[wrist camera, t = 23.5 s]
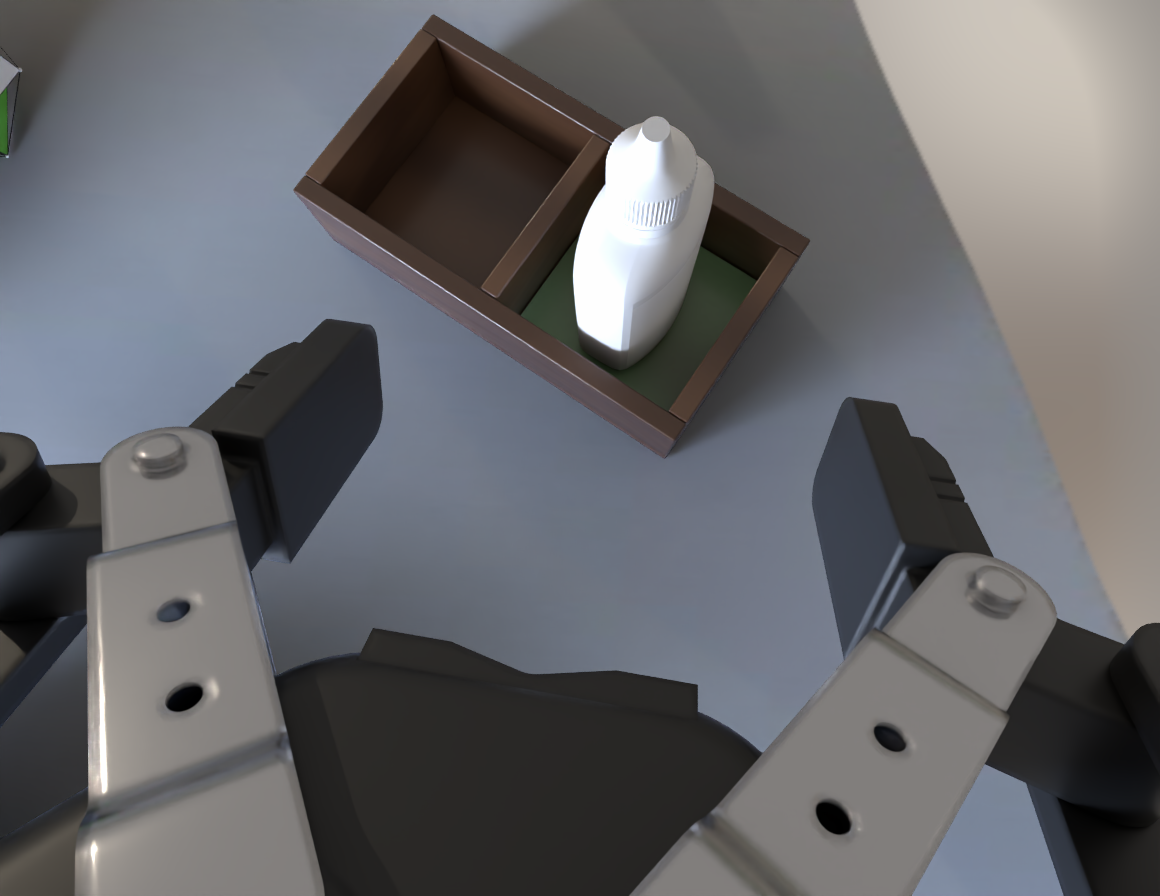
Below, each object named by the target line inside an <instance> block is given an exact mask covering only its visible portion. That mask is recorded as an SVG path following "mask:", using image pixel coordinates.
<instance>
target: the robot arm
mask: <svg viewBox="0 0 1160 896" xmlns="http://www.w3.org/2000/svg"><path fill="white" fill-rule="evenodd" d="M382 411H383V400H382V389H381V378H380V367H379V355H378V344H377V336H376V332H375V330H374V328H373V327H372V326H371V325H368V324H361V323H354V322H347V321H341V320H334V319H326V320H324V321H323V322H322V323H321V324H320V325H319V326H318V327H317V328H316V329H315V330H314V331H313V332H311V333H310V334H309V335H308V336H307V337H306V338H305V339H304V340H303V341H302V342H301V343H297V342H293V343H290V344H288V345H286V346H284V347H282V348H279V349H277V350H275V351H273V352H271V353H269V354H267V355H266V356H264V357H263V358H262V359H261V360H260V361H259V362H258V363H257V364H256V365H255V366H254V367H253V368H251V369H250V373H249V374H247V373H246V374H245V375H244V376H243V377H242V378H241V379H240V380H238V381H237V382H236V383H235V387H231V388H230V389H229V390H228V391H227V392H225V393H224V394H223V395H222V396H221V397H220V398H219V399H218V400H217V401H216V402H215V403H213V404H212V405H211V406H210V407H209V408H208V409H207V410H206V411H205V412H204V413H203V414H202V415H200V416H199V417H198V418H197V419H196V420H195V421H194V422H193V423H192V424H191V425H190V426H189V427H165V428H158V429H153V430H149V431H145V432H142V433H139V434H136V435H134V436H131V437H129V438H127V439H125V440H123V441H121V442H120V443H118V444H117V445H115V446H114V447H113V448H112V449H110V450H109V451H108V452H107V453H106V455H105V456H104V457H103V459H102V461H101V463H81V464H61V465H45V464H44V462H43V460H42V458H41V455H40V453H39V451H38V449H37V446H36V444H35V443H34V442H33V441H32V440H31V439H29V438H28V437H26V436H23V435H20V434H15V433H5V432H0V728H1V726H2V725H3V724H4V723H5V722H6V720H7V719H8V718H9V717H10V716H11V714H12V713H13V712H14V711H15V709H16V708H17V707H18V706H19V705H20V703H21V702H22V701H23V700H24V699H25V697H26V696H27V695H28V694H29V693H30V691H31V690H32V689H33V688H34V687H35V685H36V684H37V683H38V682H39V681H40V679H41V678H42V677H43V676H44V675H45V673H46V672H47V671H48V670H49V669H50V667H51V666H52V665H53V664H54V663H55V661H56V660H57V659H58V658H59V657H60V655H61V654H62V653H63V652H64V651H65V649H66V648H67V647H68V646H69V645H70V643H71V642H72V641H73V640H74V639H75V637H76V636H77V635H78V634H79V633H80V631H81V630H82V629H83V628H84V627H85V625H86V624H87V679H88V787H87V788H85V789H84V790H82V791H80V792H79V793H77V794H75V795H74V796H72V797H70V798H69V799H67V800H65V801H64V802H62V803H60V804H58V805H57V806H55V807H53V808H52V809H50V810H48V811H47V812H45V813H43V814H42V815H40V816H38V817H37V818H35V819H33V820H32V821H30V822H28V823H27V824H25V825H23V826H22V827H20V828H18V829H17V830H15V831H13V832H12V833H10V834H8V835H7V836H5V837H3V838H1V839H0V896H912V894H913V892H914V890H915V888H916V887H917V885H918V883H919V881H920V879H921V878H922V876H923V874H924V872H925V870H926V869H927V867H928V865H929V863H930V861H931V860H932V858H933V856H934V854H935V852H936V851H937V849H938V847H939V845H940V843H941V842H942V840H943V838H944V836H945V834H946V833H947V831H948V829H949V827H950V825H951V824H952V822H953V820H954V818H955V816H956V814H957V813H958V811H959V809H960V807H961V805H962V804H963V802H964V800H965V798H966V796H967V795H968V793H969V791H970V789H971V787H972V786H973V784H974V782H975V780H976V778H977V777H978V775H979V773H980V771H981V769H982V768H983V766H984V764H986V765H988V766H990V767H992V768H995V769H997V770H999V771H1001V772H1003V773H1006V774H1008V775H1010V776H1012V777H1014V778H1016V779H1019V780H1021V781H1023V782H1025V783H1026V784H1027V787H1028V790H1029V793H1030V796H1031V799H1032V802H1033V805H1034V808H1035V811H1036V814H1037V817H1038V820H1039V823H1040V826H1041V829H1042V832H1043V835H1044V838H1045V841H1046V844H1047V847H1048V850H1049V853H1050V856H1051V859H1052V862H1053V865H1054V868H1055V871H1056V874H1057V877H1058V880H1059V883H1060V886H1061V889H1062V891H1063V894H1064V896H1160V623H1151V624H1146V625H1144V626H1142V627H1140V628H1139V629H1138V630H1137V631H1136V632H1135V633H1134V634H1133V635H1132V636H1131V638H1130V639H1129V640H1128V641H1127V642H1126V644H1125V645H1124V644H1122V643H1119V642H1117V641H1114V640H1111V639H1109V638H1106V637H1103V636H1101V635H1098V634H1096V633H1093V632H1090V631H1088V630H1085V629H1082V628H1080V627H1077V626H1075V625H1072V624H1069V623H1067V622H1065V621H1062V620H1060V619H1058V618H1057V613H1056V609H1055V606H1054V604H1053V602H1052V600H1051V598H1050V597H1049V596H1048V594H1047V593H1046V591H1045V590H1044V589H1043V588H1042V587H1041V586H1040V585H1039V584H1038V583H1037V582H1036V581H1034V580H1033V579H1032V578H1031V577H1029V576H1028V575H1027V574H1025V573H1024V572H1022V571H1021V570H1019V569H1017V568H1016V567H1014V566H1012V565H1010V564H1008V563H1006V562H1004V561H1001V560H999V559H996V558H994V557H993V554H992V552H991V550H990V548H989V546H988V544H987V542H986V540H985V538H984V536H983V534H982V532H981V530H980V528H979V526H978V524H977V522H976V520H975V518H974V516H973V514H972V512H971V510H970V508H969V506H968V504H967V503H965V502H964V499H965V498H964V495H963V493H962V491H961V489H960V487H959V485H956V484H955V482H956V479H955V477H954V475H953V473H952V471H951V469H950V467H949V465H948V463H947V461H946V459H945V458H944V457H943V456H942V455H941V454H940V453H939V452H938V451H937V450H935V449H934V448H933V447H932V446H931V445H930V444H929V443H928V442H927V441H926V440H925V439H924V438H919V437H912V436H910V433H909V431H908V429H907V427H906V424H905V422H904V420H903V418H902V415H901V413H900V411H899V409H898V407H897V405H895V404H893V403H886V402H879V401H872V400H866V399H859V398H852V397H848V398H846V399H845V400H844V402H843V403H842V405H841V407H840V409H839V412H838V415H837V417H836V420H835V423H834V426H833V428H832V431H831V434H830V436H829V439H828V442H827V445H826V447H825V450H824V453H823V455H822V458H821V461H820V464H819V466H818V469H817V472H816V475H815V479H814V485H813V492H812V506H813V511H814V516H815V521H816V526H817V531H818V536H819V540H820V545H821V550H822V555H823V560H824V565H825V569H826V574H827V579H828V584H829V589H830V593H831V598H832V603H833V608H834V613H835V618H836V622H837V627H838V632H839V637H840V642H841V647H842V651H843V656H844V661H843V662H842V663H841V664H840V665H839V667H838V668H837V669H836V670H835V671H834V672H833V673H832V675H831V676H830V677H829V678H828V679H827V680H826V681H825V683H824V684H823V685H822V686H821V687H820V688H819V690H818V691H817V692H816V693H815V694H814V695H813V696H812V698H811V699H810V700H809V701H808V702H807V703H806V704H805V706H804V707H803V708H802V709H801V710H800V711H799V713H798V714H797V715H796V716H795V717H794V718H793V719H792V721H791V722H790V723H789V724H788V725H787V726H786V727H785V729H784V730H783V731H782V732H781V733H780V734H779V736H778V737H777V738H776V739H775V740H774V741H773V742H772V744H771V745H770V746H769V747H768V748H767V749H766V750H765V752H764V753H761V752H760V751H759V750H758V749H757V748H756V747H754V746H753V745H752V744H751V743H750V742H749V741H747V740H746V739H745V738H743V737H742V736H741V735H739V734H738V733H736V732H735V731H733V730H732V729H730V728H729V727H727V726H726V725H724V724H722V723H720V722H718V721H717V720H715V719H713V718H711V717H709V716H707V715H705V714H702V713H700V712H698V685H696V684H690V683H685V682H679V681H673V680H667V679H662V678H656V677H650V676H645V675H639V674H633V673H627V672H622V671H596V672H576V673H555V674H528V673H524V672H521V671H518V670H516V669H514V668H511V667H509V666H507V665H504V664H502V663H500V662H497V661H495V660H493V659H490V658H488V657H486V656H483V655H481V654H479V653H476V652H474V651H472V650H469V649H467V648H465V647H462V646H460V645H458V644H455V643H453V642H450V641H444V640H439V639H433V638H427V637H422V636H416V635H410V634H404V633H399V632H393V631H387V630H382V629H376V628H373V629H372V631H371V633H370V635H369V637H368V639H367V641H366V643H365V645H364V647H363V649H362V651H361V653H350V654H343V655H337V656H331V657H327V658H323V659H319V660H315V661H311V662H308V663H306V664H303V665H300V666H297V667H294V668H292V669H289V670H287V671H285V672H283V673H281V674H279V675H277V673H276V669H275V665H274V661H273V657H272V653H271V649H270V644H269V640H268V636H267V632H266V628H265V624H264V620H263V616H262V612H261V608H260V604H259V600H258V596H257V592H256V588H255V584H254V580H253V577H252V573H251V571H252V570H253V569H254V567H255V566H256V565H257V563H258V562H259V560H260V559H265V560H271V561H276V562H282V563H288V564H290V563H291V562H292V560H293V559H294V557H295V556H296V554H297V553H298V551H299V550H300V548H301V547H302V545H303V544H304V542H305V541H306V539H307V538H308V536H309V535H310V533H311V532H312V530H313V529H314V527H315V526H316V524H317V523H318V522H319V520H320V519H321V517H322V516H323V514H324V513H325V511H326V510H327V508H328V507H329V505H330V504H331V502H332V501H333V499H334V498H335V496H336V495H337V493H338V492H339V490H340V489H341V487H342V486H343V484H344V483H345V481H346V480H347V478H348V477H349V475H350V474H351V472H352V471H353V469H354V468H355V467H356V465H357V464H358V462H359V461H360V459H361V458H362V456H363V455H364V453H365V452H366V450H367V449H368V447H369V446H370V444H371V443H372V441H373V440H374V438H375V437H376V435H377V432H378V430H379V427H380V423H381V419H382Z"/></svg>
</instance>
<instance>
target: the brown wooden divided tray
mask: <svg viewBox="0 0 1160 896" xmlns="http://www.w3.org/2000/svg"><path fill="white" fill-rule="evenodd" d="M625 130H626V129H624V128H622V127H621V126H619V125H617V124H616V123H614V122H612V121H611V120H609V119H607V118H606V117H604V116H602V115H601V114H599V113H597V112H596V111H594V110H592V109H591V108H589V107H587V106H586V105H584V104H582V103H581V102H579V101H577V100H576V99H574V98H572V97H571V96H569V95H567V94H566V93H564V92H562V91H561V90H559V89H557V88H556V87H554V86H552V85H551V84H549V83H547V82H546V81H544V80H542V79H541V78H539V77H537V76H536V75H534V74H532V73H531V72H529V71H527V70H526V69H524V68H522V67H521V66H519V65H517V64H516V63H514V62H512V61H510V60H509V59H507V58H505V57H504V56H502V55H500V54H499V53H497V52H495V51H494V50H492V49H490V48H489V47H487V46H485V45H484V44H482V43H480V42H479V41H477V40H475V39H474V38H472V37H470V36H469V35H467V34H465V33H464V32H462V31H460V30H459V29H457V28H455V27H454V26H452V25H450V24H449V23H447V22H445V21H444V20H442V19H440V18H439V17H437V16H435V15H432V16H431V17H430V18H429V19H428V21H427V22H426V23H425V24H424V26H423V27H422V29H420V30H419V32H418V33H417V34H416V35H415V37H414V38H413V39H412V40H411V42H410V43H409V44H408V45H407V47H406V48H405V49H404V50H403V52H402V53H401V54H400V55H399V57H398V58H397V59H396V61H395V62H394V63H393V64H392V66H391V67H390V68H389V69H388V71H387V72H386V73H385V74H384V76H383V77H382V78H381V79H380V81H379V82H378V83H377V84H376V86H375V87H374V88H373V89H372V91H371V92H370V93H369V94H368V96H367V97H366V98H365V99H364V101H363V102H362V103H361V104H360V106H359V107H358V108H357V110H356V111H355V112H354V113H353V115H352V116H351V117H350V118H349V120H348V121H347V122H346V123H345V125H344V126H343V127H342V128H341V130H340V131H339V132H338V133H337V135H336V136H335V137H334V138H333V140H332V141H331V142H330V143H329V145H328V146H327V147H326V148H325V150H324V151H323V152H322V153H321V155H320V156H319V157H318V159H317V160H316V161H315V162H314V164H313V165H312V166H311V167H310V169H309V170H308V171H307V172H306V176H304V177H303V178H302V179H301V180H300V182H299V183H298V184H297V186H296V187H295V188H294V190H293V191H294V192H295V194H296V195H297V196H298V197H299V198H300V200H301V201H302V202H303V203H304V204H305V206H306V207H307V208H308V209H309V210H310V212H311V213H312V214H313V215H314V216H315V218H316V219H317V220H318V221H319V222H320V224H321V225H322V226H323V227H324V228H325V230H326V231H327V232H328V233H329V235H330V236H331V237H332V238H333V239H334V240H335V241H337V242H338V243H340V244H341V245H343V246H344V247H346V248H347V249H349V250H350V251H352V252H353V253H355V254H356V255H358V256H359V257H361V258H362V259H364V260H365V261H367V262H368V263H370V264H371V265H373V266H374V267H376V268H377V269H379V270H380V271H382V272H383V273H385V274H386V275H388V276H389V277H391V278H392V279H394V280H395V281H397V282H398V283H400V284H401V285H403V286H404V287H406V288H407V289H409V290H410V291H412V292H413V293H415V294H416V295H418V296H419V297H421V298H423V299H424V300H426V301H427V302H429V303H430V304H432V305H433V306H435V307H436V308H438V309H439V310H441V311H442V312H444V313H445V314H447V315H448V316H450V317H451V318H453V319H454V320H456V321H457V322H459V323H460V324H462V325H463V326H465V327H466V328H468V329H469V330H471V331H472V332H474V333H475V334H477V335H478V336H480V337H481V338H483V339H484V340H486V341H487V342H489V343H490V344H492V345H493V346H495V347H496V348H498V349H499V350H501V351H502V352H504V353H505V354H507V355H508V356H510V357H511V358H513V359H514V360H516V361H517V362H519V363H521V364H522V365H524V366H525V367H527V368H528V369H530V370H531V371H533V372H534V373H536V374H537V375H539V376H540V377H542V378H543V379H545V380H546V381H548V382H549V383H551V384H552V385H554V386H555V387H557V388H558V389H560V390H561V391H563V392H564V393H566V394H567V395H569V396H570V397H572V398H573V399H575V400H576V401H578V402H579V403H581V404H582V405H584V406H585V407H587V408H588V409H590V410H591V411H593V412H594V413H596V414H597V415H599V416H600V417H602V418H603V419H605V420H606V421H608V422H609V423H611V424H612V425H614V426H615V427H617V428H619V429H620V430H622V431H623V432H625V433H626V434H628V435H629V436H631V437H632V438H634V439H635V440H637V441H638V442H640V443H641V444H643V445H644V446H646V447H647V448H649V449H650V450H652V451H653V452H655V453H656V454H658V455H659V456H661V457H662V458H666V457H667V455H668V454H669V452H670V451H671V449H672V448H673V446H674V445H675V443H676V442H677V440H678V439H679V438H680V436H681V435H682V433H683V432H684V430H685V429H686V427H687V426H688V424H689V423H690V421H691V420H692V418H693V417H694V415H695V414H696V412H697V411H698V409H699V408H700V406H701V405H702V403H703V402H704V401H705V399H706V398H707V396H708V395H709V393H710V392H711V390H712V389H713V387H714V386H715V384H716V383H717V381H718V380H719V378H720V377H721V375H722V374H723V372H724V371H725V369H726V368H727V366H728V365H729V363H730V362H731V361H732V359H733V358H734V356H735V355H736V353H737V352H738V350H739V349H740V347H741V346H742V344H743V343H744V341H745V340H746V338H747V337H748V335H749V334H750V332H751V331H752V329H753V328H754V326H755V325H756V323H757V322H758V321H759V319H760V318H761V316H762V315H763V313H764V312H765V310H766V309H767V307H768V306H769V304H770V303H771V301H772V300H773V298H774V297H775V295H776V294H777V292H778V291H779V289H780V288H781V286H782V285H783V283H784V282H785V280H786V279H787V277H788V276H789V274H790V272H791V271H792V269H793V268H794V266H795V264H796V263H797V261H798V260H799V258H800V257H801V255H802V253H803V252H804V250H805V249H806V247H807V246H808V244H809V242H810V240H809V239H808V238H806V237H804V236H803V235H801V234H799V233H798V232H796V231H794V230H793V229H791V228H789V227H788V226H786V225H784V224H783V223H781V222H779V221H778V220H776V219H774V218H773V217H771V216H769V215H768V214H766V213H764V212H763V211H761V210H759V209H758V208H756V207H754V206H753V205H751V204H749V203H748V202H746V201H744V200H743V199H741V198H739V197H738V196H736V195H734V194H733V193H731V192H729V191H728V190H726V189H724V188H723V187H721V186H719V185H718V184H716V183H714V192H713V200H712V205H711V210H710V214H709V217H708V221H707V224H706V228H705V231H704V235H703V238H702V241H701V245H700V248H699V252H698V255H697V258H696V262H695V265H694V268H693V272H692V275H691V278H690V281H689V285H688V288H687V291H686V295H685V298H684V301H683V303H682V306H681V308H680V310H679V313H678V315H677V317H676V319H675V321H674V322H673V324H672V326H671V327H670V329H669V330H668V332H667V333H666V334H665V336H664V337H663V338H662V340H661V341H660V342H659V343H658V344H657V345H656V346H655V347H654V348H653V349H652V350H651V351H650V352H649V353H648V354H647V355H646V356H645V357H643V358H642V359H641V360H640V361H638V362H637V363H635V364H634V365H632V366H631V367H629V368H627V369H623V370H616V369H613V368H611V367H609V366H607V365H605V364H604V363H602V362H600V361H599V360H597V359H595V358H594V357H592V356H590V355H589V354H587V353H586V352H585V351H584V350H583V349H582V348H581V346H580V341H579V335H578V326H577V317H576V307H575V296H574V284H573V270H574V260H575V254H576V249H577V244H578V240H579V237H580V233H581V230H582V227H583V224H584V221H585V219H586V217H587V215H588V212H589V210H590V208H591V206H592V204H593V202H594V200H595V199H596V197H597V196H598V194H599V192H600V191H601V190H602V188H603V187H604V185H605V184H606V159H607V154H608V151H609V150H610V146H611V145H612V143H613V142H614V141H615V139H616V138H617V137H618V135H620V134H621V132H624V131H625Z"/></svg>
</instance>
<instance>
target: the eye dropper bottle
mask: <svg viewBox="0 0 1160 896" xmlns="http://www.w3.org/2000/svg"><path fill="white" fill-rule="evenodd" d="M693 147H694V146H693V145H692V144H691V141H690V140H689V138H688V137H686V135H685V134H683V133H682V132H681V131H679V129H676V128H675V127H673V126H671V125H669V123H668V122H667V120H665V119H664V118H662V117H658V116H654V117H650V118H648V119H647V120H645V122H644V123H641V124H637V125H633V126H632V127H629V128H628V129H626V130H625V131H624V132H621V134H620V135H618V137H617V138H616V139H615V141H614V142H613V143H612V145H611V146H610V150H609V151H608V154H607V159H606V184H605V185H604V187H603V188H602V190H601V191H600V192H599V194H598V196H597V197H596V199H595V200H594V202H593V204H592V206H591V208H590V210H589V212H588V215H587V217H586V219H585V221H584V224H583V227H582V230H581V233H580V237H579V240H578V244H577V249H576V254H575V260H574V270H573V284H574V296H575V307H576V317H577V326H578V335H579V341H580V346H581V348H582V349H583V350H584V351H585V352H586V353H587V354H589V355H590V356H592V357H594V358H595V359H597V360H599V361H600V362H602V363H604V364H605V365H607V366H609V367H611V368H613V369H616V370H623V369H627V368H629V367H631V366H632V365H634V364H635V363H637V362H638V361H640V360H641V359H642V358H643V357H645V356H646V355H647V354H648V353H649V352H650V351H651V350H652V349H653V348H654V347H655V346H656V345H657V344H658V343H659V342H660V341H661V340H662V338H663V337H664V336H665V334H666V333H667V332H668V330H669V329H670V327H671V326H672V324H673V322H674V321H675V319H676V317H677V315H678V313H679V310H680V308H681V306H682V303H683V301H684V298H685V295H686V291H687V288H688V285H689V281H690V278H691V275H692V272H693V268H694V265H695V262H696V258H697V255H698V252H699V248H700V245H701V241H702V238H703V235H704V231H705V228H706V224H707V221H708V217H709V214H710V210H711V205H712V200H713V192H714V175H713V171H712V168H711V167H710V166H709V165H708V163H707V162H706V161H705V160H703V159H702V158H700V157H699V156H697V154H696V153H695V149H694V148H693Z"/></svg>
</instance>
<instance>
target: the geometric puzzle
mask: <svg viewBox="0 0 1160 896" xmlns="http://www.w3.org/2000/svg"><path fill="white" fill-rule="evenodd" d="M1 49H2V48H1ZM2 50H3V49H2ZM3 51H4V50H3ZM4 52H5V51H4ZM8 57H9V56H8ZM9 58H10V57H9ZM10 59H11V58H10ZM11 60H12V59H11ZM14 64H15V63H14ZM15 65H16V64H15ZM16 66H17V65H16ZM16 66H14V65H13V64H12V63H10V62H9V61H8V60H6V59H5V58H4V57H2V56H1V55H0V154H1V155H4V156H0V157H6V158H9V155H8V152H9V147H8V117H7V87H8V85H9V84H10V83H11V82H12V80H13V79H14V78H15V77H16V75H17V74H18V73H19V78H20V72H22V69H21V68H17V67H18V66H17V67H16ZM18 85H19V79H18ZM17 91H18V86H17ZM16 98H17V92H16ZM15 105H16V99H15ZM14 112H15V106H14ZM13 118H14V113H13ZM12 125H13V120H12ZM11 132H12V126H11ZM10 139H11V133H10ZM9 145H10V140H9Z"/></svg>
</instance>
